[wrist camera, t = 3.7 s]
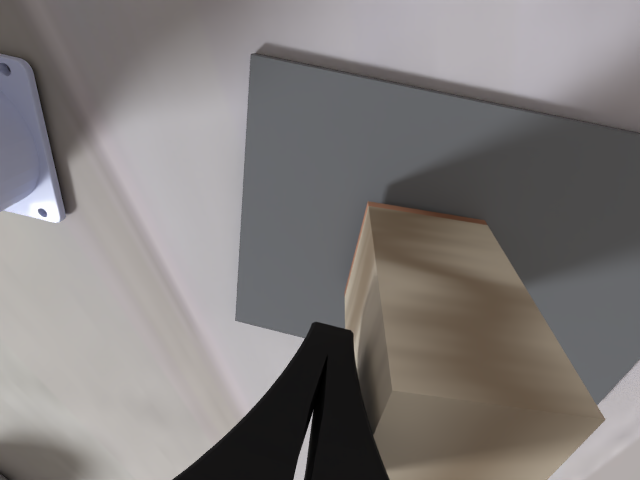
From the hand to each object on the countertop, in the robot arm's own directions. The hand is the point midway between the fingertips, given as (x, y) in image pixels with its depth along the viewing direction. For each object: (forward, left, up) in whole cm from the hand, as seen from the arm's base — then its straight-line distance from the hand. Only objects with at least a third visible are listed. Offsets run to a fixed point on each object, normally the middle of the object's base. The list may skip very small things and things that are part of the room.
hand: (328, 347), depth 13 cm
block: (+3, 0, -6) cm, 7 cm away
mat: (+5, 0, -7) cm, 8 cm away
